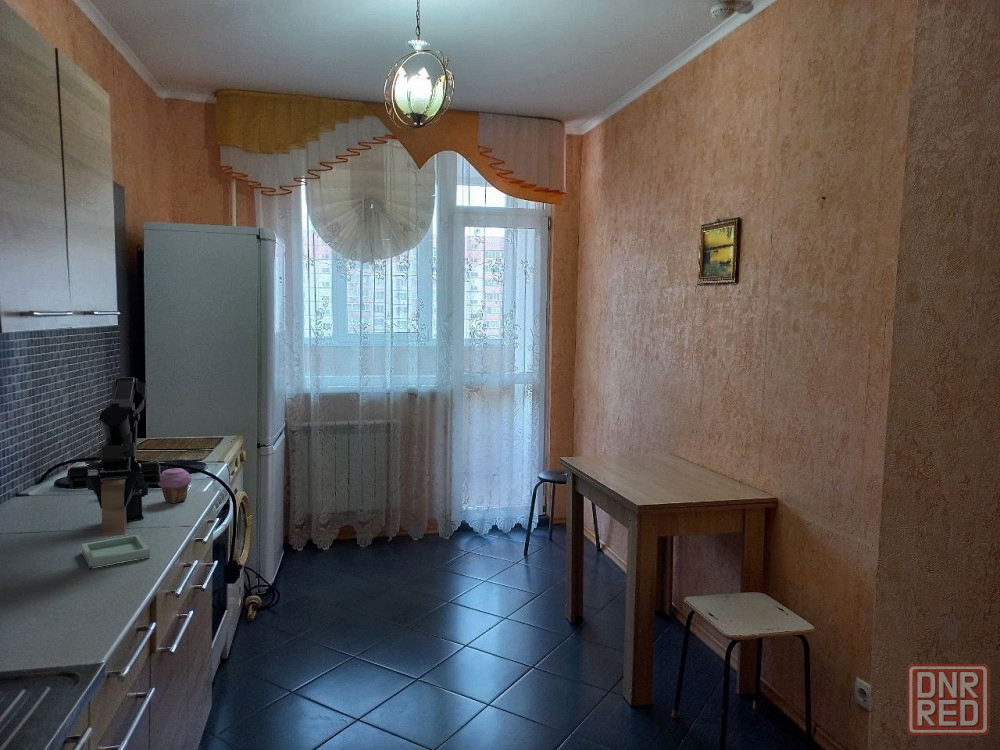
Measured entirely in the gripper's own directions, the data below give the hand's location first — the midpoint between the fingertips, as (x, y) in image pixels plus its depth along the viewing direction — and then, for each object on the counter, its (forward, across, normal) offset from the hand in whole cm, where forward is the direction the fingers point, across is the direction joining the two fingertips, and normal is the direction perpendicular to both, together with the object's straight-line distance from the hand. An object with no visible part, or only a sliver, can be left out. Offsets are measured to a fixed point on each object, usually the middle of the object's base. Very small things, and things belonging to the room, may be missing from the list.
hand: (113, 506), depth 152 cm
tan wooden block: (+4, 0, +6) cm, 7 cm away
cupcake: (-22, +11, +40) cm, 47 cm away
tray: (+8, 0, +10) cm, 12 cm away
